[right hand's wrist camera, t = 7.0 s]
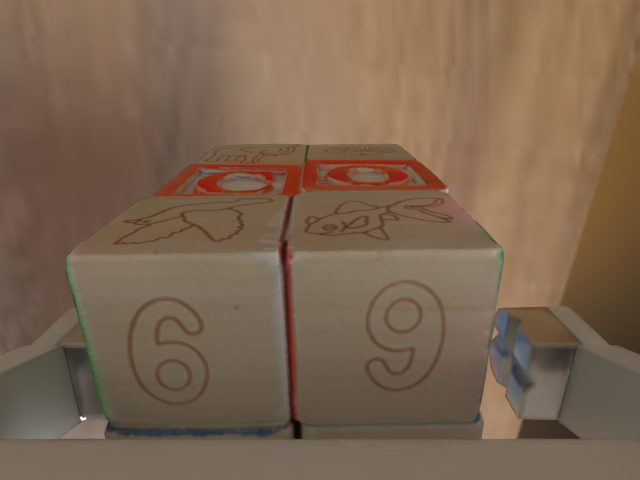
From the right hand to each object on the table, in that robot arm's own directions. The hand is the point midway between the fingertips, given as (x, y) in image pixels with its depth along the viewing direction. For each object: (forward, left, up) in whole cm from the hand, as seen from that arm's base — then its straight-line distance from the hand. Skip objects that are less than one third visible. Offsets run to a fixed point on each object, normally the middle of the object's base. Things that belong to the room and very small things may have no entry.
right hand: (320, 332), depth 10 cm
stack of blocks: (+7, 0, -6) cm, 9 cm away
